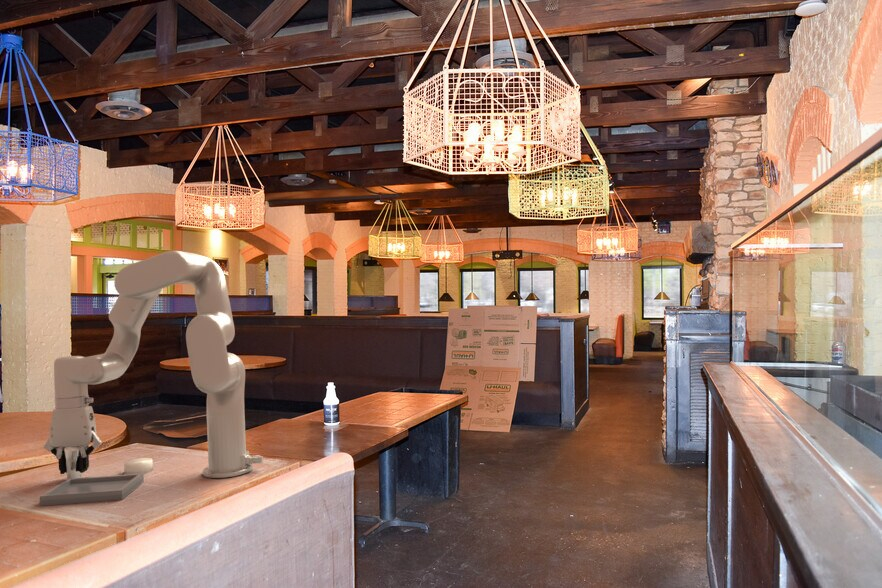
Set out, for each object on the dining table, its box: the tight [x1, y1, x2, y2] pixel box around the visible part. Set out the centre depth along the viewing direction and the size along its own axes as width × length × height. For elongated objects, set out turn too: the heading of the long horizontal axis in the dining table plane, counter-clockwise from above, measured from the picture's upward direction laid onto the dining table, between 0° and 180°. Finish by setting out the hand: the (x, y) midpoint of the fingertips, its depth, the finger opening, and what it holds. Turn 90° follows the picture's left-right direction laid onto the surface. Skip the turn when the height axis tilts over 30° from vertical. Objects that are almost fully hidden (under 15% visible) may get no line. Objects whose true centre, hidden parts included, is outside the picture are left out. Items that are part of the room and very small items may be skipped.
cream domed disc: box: [123, 457, 154, 475], centre depth 168 cm, size 7×7×3 cm
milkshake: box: [64, 446, 82, 480], centre depth 164 cm, size 5×5×10 cm
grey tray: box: [39, 473, 145, 507], centre depth 150 cm, size 18×14×2 cm
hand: (74, 471), depth 164 cm, fingers closed on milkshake, 4 cm apart
